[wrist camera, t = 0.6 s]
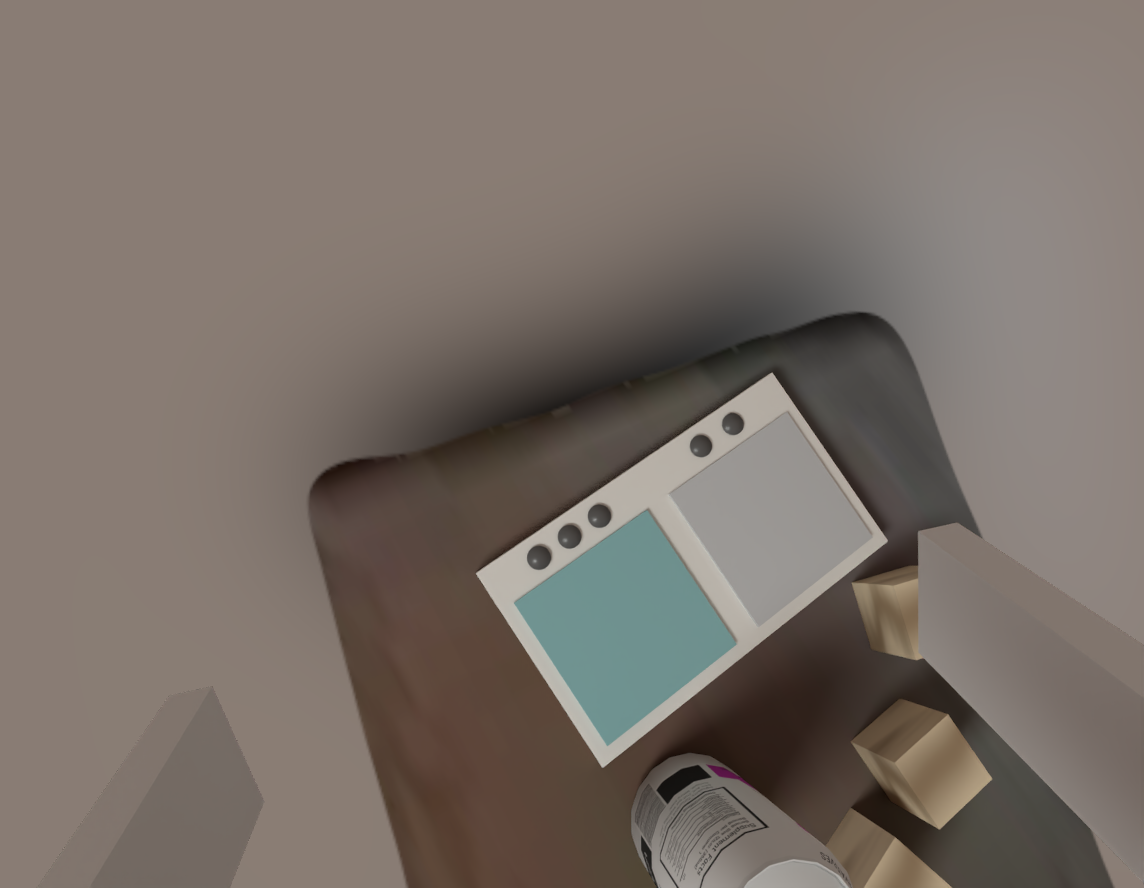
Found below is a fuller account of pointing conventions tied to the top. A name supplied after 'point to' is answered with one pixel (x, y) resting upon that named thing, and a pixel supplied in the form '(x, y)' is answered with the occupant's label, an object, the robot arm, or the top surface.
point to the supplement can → (722, 833)
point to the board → (681, 565)
